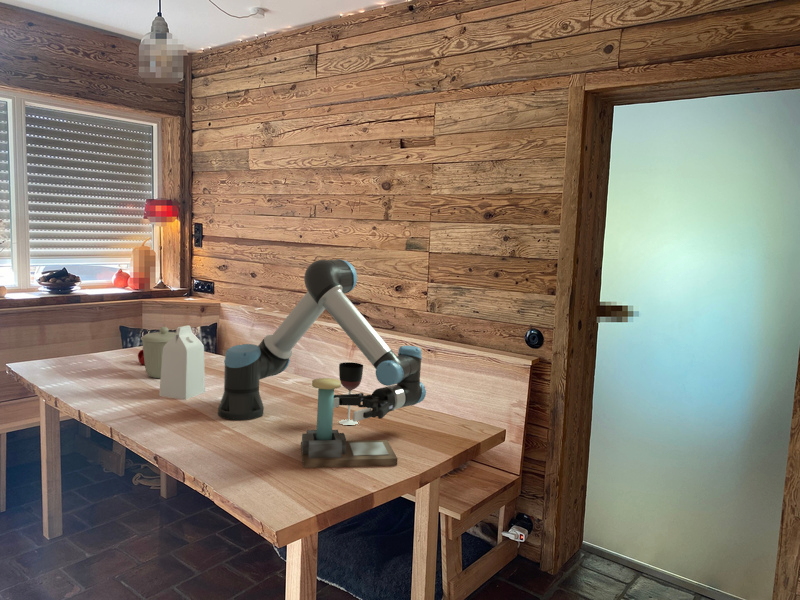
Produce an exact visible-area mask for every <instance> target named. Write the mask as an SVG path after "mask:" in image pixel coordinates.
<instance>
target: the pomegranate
mask: <svg viewBox="0 0 800 600" xmlns="http://www.w3.org/2000/svg"><path fill="white" fill-rule="evenodd" d="M137 358H138V361H139V363H140V365H144V366H145V362H144V353H143V349H140V351H139V352H138V354H137Z"/></svg>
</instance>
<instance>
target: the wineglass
mask: <svg viewBox="0 0 800 600" xmlns="http://www.w3.org/2000/svg"><path fill="white" fill-rule="evenodd" d="M338 365H339V366H338V372H339V373H338V374H339V375H338V377H339V380H340V381H341V386H342V387H343V388H344V389H346V390H348V394H352V390H355V389H357V388H358V387H359V386H360V384H361V383H362V379H363V373H364V371H363V370H364V365H363V364H362V363H358V362H353V361H352V362H351V361H349V362H346V361H345V362H340V363H339V364H338ZM350 419H351V405H347V419H346V418H345V420H344V419H340V420H341V421H339V420H338V421H339V423H340V424H343V425H355V424H358V422H359V421H358V422H357V421H356V422H354V421H353V419H351V420H350ZM358 425H359V424H358Z"/></svg>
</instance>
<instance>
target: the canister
mask: <svg viewBox="0 0 800 600" xmlns="http://www.w3.org/2000/svg"><path fill="white" fill-rule="evenodd" d="M175 335H176V332H172V331H170V329H169V328H168V327H167V326H161V327H160V328H159V332H158V331H157V332H149V333H147V334H145V335H143V336H141V337H140V340H141V342H142V350H143V353H144V362H145V365H144V368H145V372H146V375H147V376H148V377H150V378H153V379H161V367H162V354H163V347H164V345H165V344H166V343H167V342H168V341H170V340H171V339H172V338H173V337H174V336H175Z"/></svg>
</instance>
